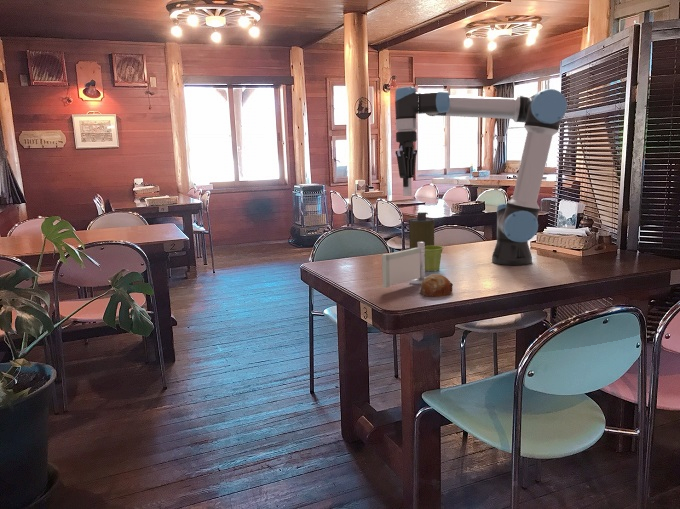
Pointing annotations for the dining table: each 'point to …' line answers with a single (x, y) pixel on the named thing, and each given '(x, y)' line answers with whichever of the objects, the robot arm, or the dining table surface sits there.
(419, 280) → the gate post
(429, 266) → the plant pot
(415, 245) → the canister
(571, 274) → the dining table surface
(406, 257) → the gate
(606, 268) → the dining table surface
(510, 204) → the robot arm
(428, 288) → the bread roll
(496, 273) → the dining table surface
